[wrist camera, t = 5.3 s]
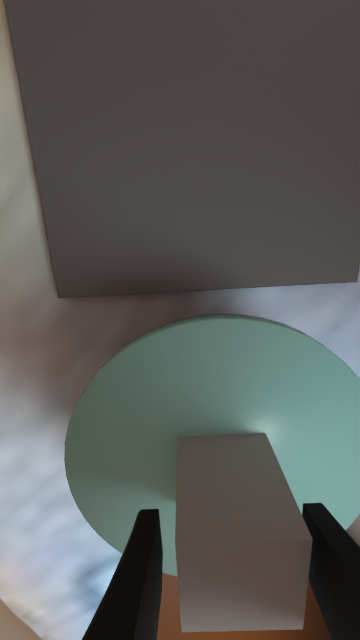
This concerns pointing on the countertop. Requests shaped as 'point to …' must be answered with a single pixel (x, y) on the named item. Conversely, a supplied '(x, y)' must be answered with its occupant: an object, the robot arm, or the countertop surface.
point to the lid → (221, 460)
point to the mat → (193, 141)
